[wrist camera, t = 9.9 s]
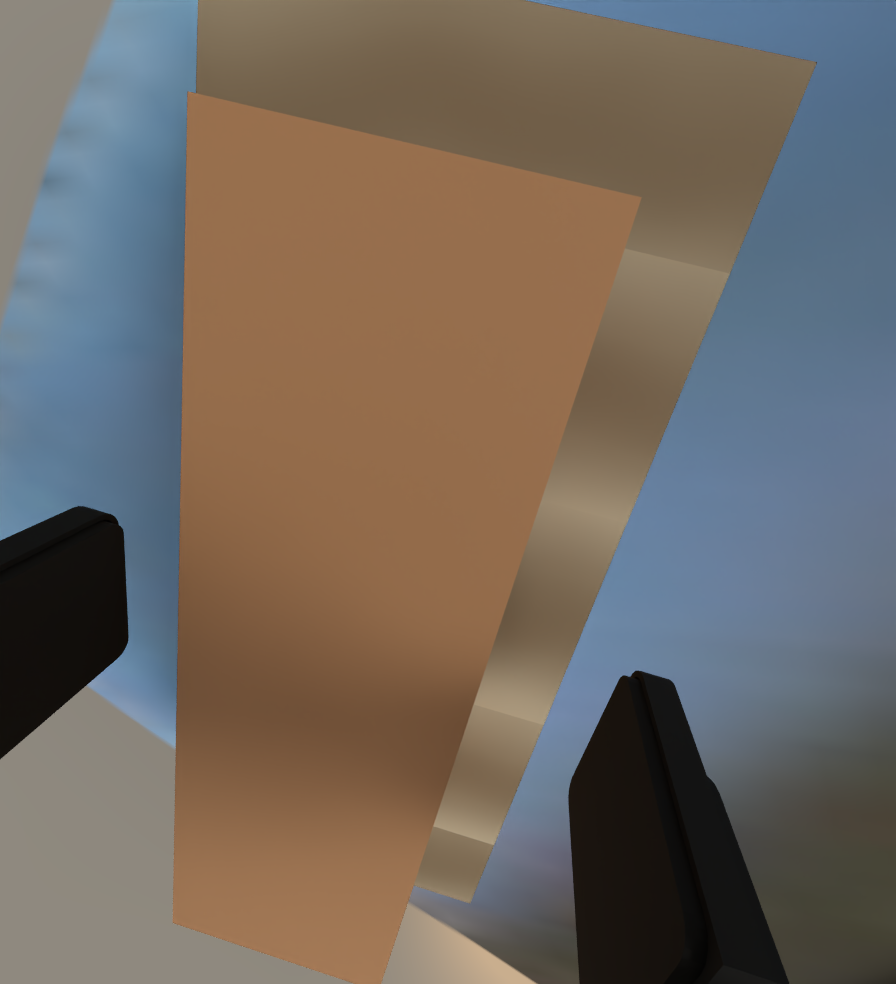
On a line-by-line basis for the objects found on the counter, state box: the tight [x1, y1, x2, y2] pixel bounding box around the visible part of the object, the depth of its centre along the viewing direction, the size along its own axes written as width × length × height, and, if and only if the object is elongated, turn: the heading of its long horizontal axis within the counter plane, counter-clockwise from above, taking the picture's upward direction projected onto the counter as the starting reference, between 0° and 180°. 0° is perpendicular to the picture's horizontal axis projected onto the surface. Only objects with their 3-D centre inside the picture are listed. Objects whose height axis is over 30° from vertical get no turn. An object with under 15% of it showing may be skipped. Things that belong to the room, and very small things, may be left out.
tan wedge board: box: [173, 92, 642, 984], centre depth 12 cm, size 16×5×8 cm, turn 167°
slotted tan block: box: [196, 0, 817, 903], centre depth 14 cm, size 22×10×4 cm, turn 167°
